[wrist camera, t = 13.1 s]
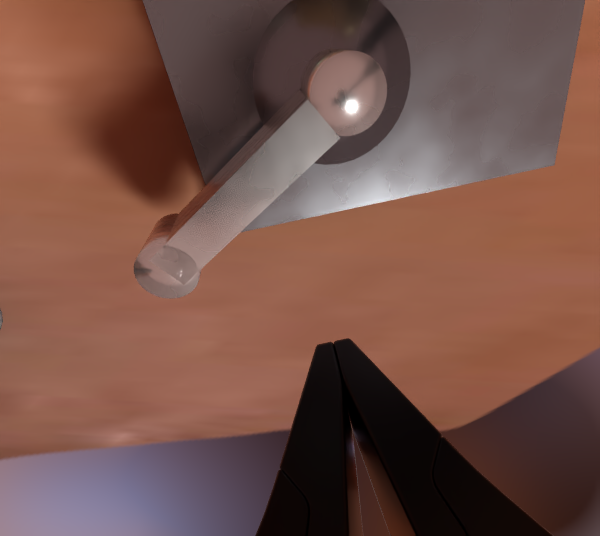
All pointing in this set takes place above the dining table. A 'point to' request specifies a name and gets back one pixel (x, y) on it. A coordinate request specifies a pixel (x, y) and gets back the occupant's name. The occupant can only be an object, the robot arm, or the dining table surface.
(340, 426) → the robot arm
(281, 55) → the silver lever handle
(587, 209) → the dining table surface
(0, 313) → the salt shaker
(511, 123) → the plate
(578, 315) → the dining table surface
